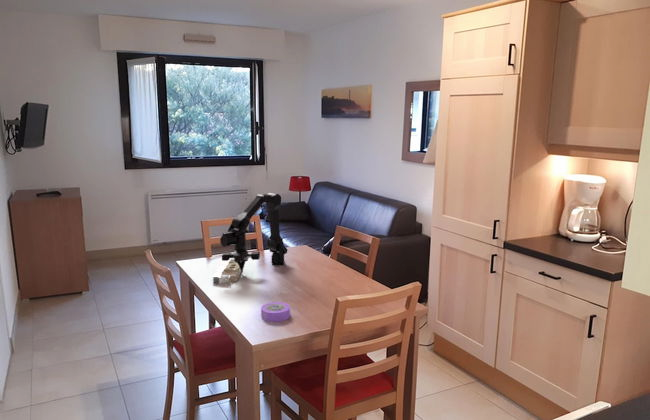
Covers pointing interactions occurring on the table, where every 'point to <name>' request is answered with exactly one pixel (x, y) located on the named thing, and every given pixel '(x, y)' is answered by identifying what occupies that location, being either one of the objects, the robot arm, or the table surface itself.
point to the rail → (220, 278)
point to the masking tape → (275, 311)
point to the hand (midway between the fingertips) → (242, 272)
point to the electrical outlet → (232, 271)
